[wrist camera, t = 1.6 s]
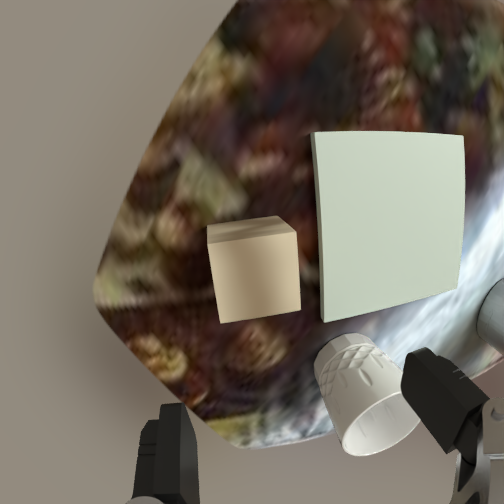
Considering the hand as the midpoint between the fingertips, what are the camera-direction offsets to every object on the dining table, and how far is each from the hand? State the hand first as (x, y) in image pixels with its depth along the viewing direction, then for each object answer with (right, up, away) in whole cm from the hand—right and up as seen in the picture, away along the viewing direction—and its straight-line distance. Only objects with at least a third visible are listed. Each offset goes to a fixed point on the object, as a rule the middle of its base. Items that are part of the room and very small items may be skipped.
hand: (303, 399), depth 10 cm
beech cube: (-2, +5, +16) cm, 16 cm away
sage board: (+11, +8, +17) cm, 22 cm away
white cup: (+8, -6, +20) cm, 22 cm away
